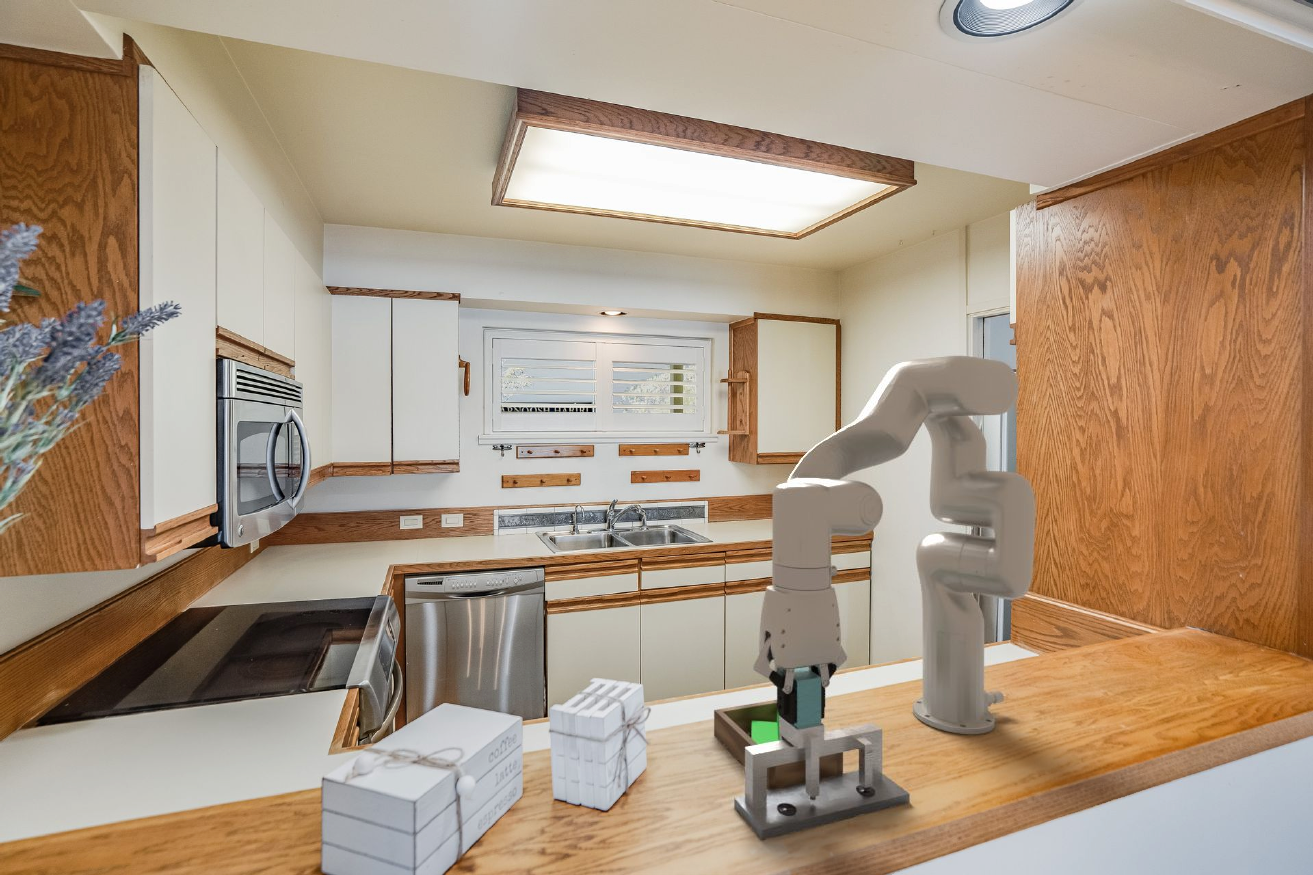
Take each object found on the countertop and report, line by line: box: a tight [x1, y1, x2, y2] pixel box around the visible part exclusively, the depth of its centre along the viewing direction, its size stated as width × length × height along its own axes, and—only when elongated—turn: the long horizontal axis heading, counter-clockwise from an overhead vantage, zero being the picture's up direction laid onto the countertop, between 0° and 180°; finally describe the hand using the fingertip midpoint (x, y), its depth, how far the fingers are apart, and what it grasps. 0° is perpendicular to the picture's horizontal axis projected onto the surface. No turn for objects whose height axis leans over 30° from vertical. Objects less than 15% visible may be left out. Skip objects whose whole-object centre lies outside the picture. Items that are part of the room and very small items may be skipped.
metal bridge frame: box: [744, 722, 883, 809], centre depth 80 cm, size 20×4×8 cm, turn 110°
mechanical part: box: [750, 711, 780, 745], centre depth 92 cm, size 12×6×8 cm, turn 171°
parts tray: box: [713, 699, 844, 790], centre depth 93 cm, size 12×17×4 cm
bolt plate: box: [733, 769, 911, 841], centre depth 80 cm, size 22×7×1 cm, turn 110°
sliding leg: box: [779, 667, 825, 800], centre depth 80 cm, size 4×5×15 cm
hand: (801, 715), depth 80 cm, fingers closed on sliding leg, 3 cm apart
